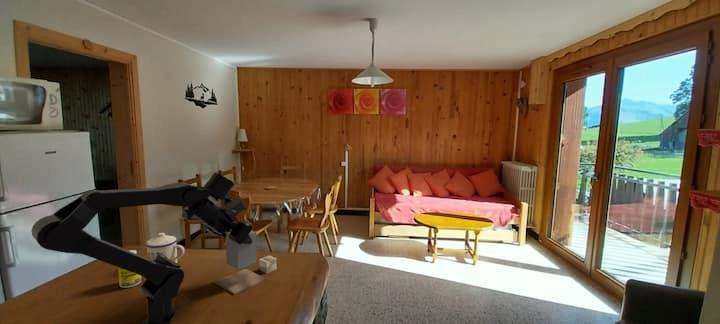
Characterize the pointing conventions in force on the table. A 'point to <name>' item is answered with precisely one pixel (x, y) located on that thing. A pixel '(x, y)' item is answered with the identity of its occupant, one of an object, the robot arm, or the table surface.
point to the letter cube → (267, 264)
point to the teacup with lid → (164, 247)
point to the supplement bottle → (128, 277)
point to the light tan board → (240, 281)
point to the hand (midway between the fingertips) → (245, 240)
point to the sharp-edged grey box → (241, 252)
